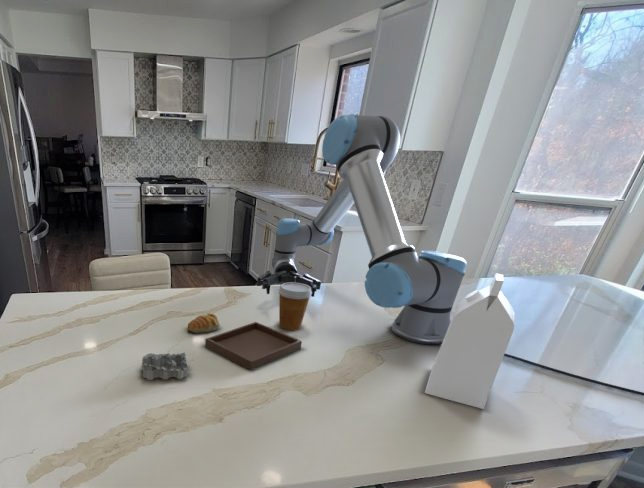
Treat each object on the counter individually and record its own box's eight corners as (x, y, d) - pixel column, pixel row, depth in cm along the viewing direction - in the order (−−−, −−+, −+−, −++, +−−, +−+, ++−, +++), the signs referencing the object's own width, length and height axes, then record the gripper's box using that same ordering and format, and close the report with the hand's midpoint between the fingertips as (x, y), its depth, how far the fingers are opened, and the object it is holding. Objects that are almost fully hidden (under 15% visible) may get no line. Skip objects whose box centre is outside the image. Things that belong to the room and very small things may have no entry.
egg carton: (141, 380, 98) (140, 365, 96) (142, 365, 104) (142, 350, 102) (187, 380, 99) (188, 364, 96) (186, 365, 105) (186, 350, 103)
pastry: (196, 336, 120) (196, 323, 118) (181, 329, 124) (181, 316, 122) (221, 328, 125) (222, 316, 123) (206, 321, 129) (206, 309, 127)
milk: (483, 409, 91) (536, 290, 78) (424, 393, 96) (464, 279, 83) (484, 385, 100) (532, 275, 87) (430, 371, 105) (468, 266, 92)
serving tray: (300, 348, 115) (302, 340, 114) (250, 370, 104) (251, 361, 102) (254, 329, 125) (255, 321, 124) (205, 346, 114) (205, 338, 113)
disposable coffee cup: (270, 329, 126) (275, 289, 120) (277, 318, 133) (282, 280, 127) (303, 334, 123) (310, 294, 117) (308, 323, 130) (315, 284, 124)
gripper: (319, 284, 150) (330, 305, 132) (248, 280, 152) (249, 300, 134) (323, 262, 147) (334, 281, 128) (250, 259, 148) (251, 276, 130)
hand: (291, 291), depth 131 cm, fingers open, 13 cm apart
